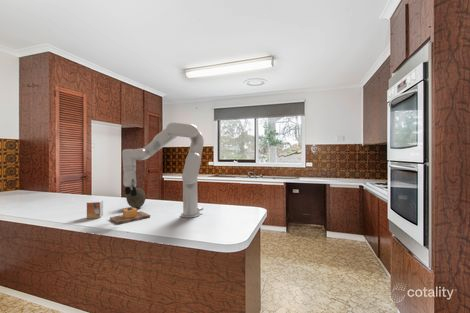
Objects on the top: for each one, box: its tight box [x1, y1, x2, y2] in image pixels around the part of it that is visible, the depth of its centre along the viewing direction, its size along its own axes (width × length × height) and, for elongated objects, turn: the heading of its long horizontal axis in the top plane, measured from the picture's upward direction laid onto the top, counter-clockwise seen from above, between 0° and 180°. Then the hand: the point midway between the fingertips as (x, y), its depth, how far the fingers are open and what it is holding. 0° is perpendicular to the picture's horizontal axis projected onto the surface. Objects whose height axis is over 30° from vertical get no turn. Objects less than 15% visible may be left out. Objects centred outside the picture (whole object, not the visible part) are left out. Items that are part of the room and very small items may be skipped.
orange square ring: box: [122, 207, 138, 218], centre depth 143 cm, size 7×7×4 cm
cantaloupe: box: [125, 187, 147, 209], centre depth 171 cm, size 14×14×15 cm
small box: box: [86, 200, 104, 219], centre depth 147 cm, size 8×6×10 cm
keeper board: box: [109, 206, 151, 226], centre depth 143 cm, size 20×14×7 cm
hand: (130, 194), depth 143 cm, fingers open, 9 cm apart
